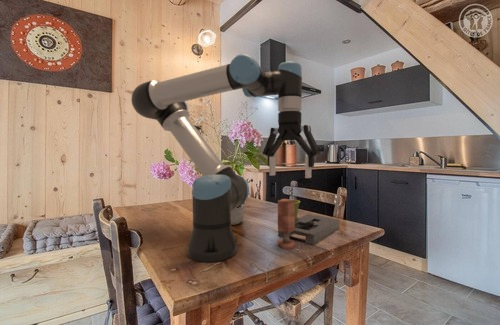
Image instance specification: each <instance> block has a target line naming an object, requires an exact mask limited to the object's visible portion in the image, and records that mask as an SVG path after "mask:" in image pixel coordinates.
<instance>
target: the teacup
mask: <svg viewBox="0 0 500 325" xmlns="http://www.w3.org/2000/svg"><path fill="white" fill-rule="evenodd" d="M244 218H245V204H244V203H243V204H242V205H241V207H239V208H234V209H233V210H231V226H235V225H239V224H240V223H241V222H242V221H243V220H244Z"/></svg>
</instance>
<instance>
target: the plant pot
mask: <svg viewBox="0 0 500 325" xmlns="http://www.w3.org/2000/svg"><path fill="white" fill-rule="evenodd" d="M289 199H290V198H289ZM290 200H295V220H296V219H298V212H299V206H300V203H301V201H300V199H299V200H298V199H290Z"/></svg>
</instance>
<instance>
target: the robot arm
mask: <svg viewBox="0 0 500 325" xmlns="http://www.w3.org/2000/svg"><path fill="white" fill-rule="evenodd" d="M302 80H303V76H302V65H301V63H299V62H297V61H293V60H292V61H291V60H288V61H285V62H284V61H283V62H281V63H280V64H279V65H278V68H277V70H275V71H274V70H273V71H267V72H266V71H264V70H263V68H262V67H261V66H260V65H259V63H258V61H257V60H256V59H255V58H253V57H252V56H251V55H249V54H246V53H239V54H237V55H236V56H235V57H234V58H233V59H232V60H231V62H230V63H228V64H227V63H226V64H223V65H220V66H215V67H213V68H209V69H205V70H204V69H203V70H200V71H197V72H194V73H193V72H192V73H189V74H185V75H181V76H178V77H174V78H170V79H166V80H162V81H160V80H159V79H153V80H152V79H151V80H149V81H146V82H143V83H141V84H139V85H137V87H135V88H134V90H133V91H132V94H131V104H132V107H133V109H134V110H135V112H136V113H137V114H138V115H140V116H142V117H143V118H146V119H150V120H155V121H156V122H158V124H159V125H160V127H162V128H163V130H164V131H165V132H166V131H167V132H170V133H171V135H172V136H173V137H174V138H175V140H176V141H177V142H178V144H179V145H180V147H181V149H183V151H184V152H185V154H186V155H187V156H188V158H189V159H190V161H191V162H192V163H193V165H194V166H195V167H196V169H197V170H198V172H200V174H201V175H202V176H198V178H195V179H194V180H193V182H192V191H191V195H192V230H191V233H190V237H189V241H188V245H187V248H186V249H187V256H188V258H190V259H191V260H194V261H197V262H202V263H204V262H205V263H214V262H221V261H225V260H228V259H230V258H232V257H234V256H235V255H236V254H237V252H238V251H237V250H238V245H237V241H236V239H235V235H234V231H233V229H232V228H233V227H232V225H231V210H233V209H234V208H237V207H239V206H241V205H242V204H244V203H245V202H246V201H247V200H248V197H249V195H250V186H249V183H248V181H247V180H246V179H245V177H243V176H241V175H239V174H237V173H236V172H235V171H234V169H233V168H232V167H231V166H230V165H225V164H224V163H223V162H222V161H221V159H220V158H219V156H218V155H217V154H216V152H215V151H214V150H213V149H212V147H211V146H210V145H209V144H208V142H207V140H206V139H205V138H204V136H203V135H202V134H201V133H200V131H199V130H198V129H197V128H196V126H195V125H194V124H193V122H192V121H191V119H190V112H189V111H188V104H187V103H186V102H187V101H192V100H197V99H199V98H205V97H210V96H214V95H219V94H222V93H227V92H232V91H236V90H240V89H241V90H242V93H243V94H244V96H245V97H247V98H257V97H258V98H259V97H266V96H277V95H278V98H277V101H278V102H277V104H278V105H277V111H278V114H277V118H278V119H277V123H278V127H270V129H269V130H270V131H269V132H270V133H269V136H268V139H267V140H266V144H265V146H264V148H263V150H262V154H263V155H264V156H267V166H268V168H269V169H268V170H269V171H268V174H269V176H272V177H273V176H276V168H277V167H276V165H277V164H276V160H277V159H276V156H275V154H276V153H277V151H279V149H280V148H281V145H283V143H284V142H286V141H296V142H297V144H298V145H299V146H300V147H301V149H302V150H303V151H304V153H305V154H306V155H307V156H305V158H304V159H305V160H304V161H305V162H304V164H305V166H304V168H305V170H304V175H305V176H304V178H305V179H311V178H312V168H314V167H315V157H316V156H318V155H319V156H320V154H321V151H320V147H318V144H317V142H316V140H315V138H314V135H313V133H312V128H311V125H309V124H304V125H303V126H302V112H301V111H302V94H303V92H302V89H303V87H302V85H303V84H302V82H303V81H302ZM301 133H303V134H304V136H305V138H306V140H304V138H303V136H302V135H301ZM306 141H307V142H306ZM307 143H308V144H307Z"/></svg>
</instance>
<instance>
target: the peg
mask: <svg viewBox="0 0 500 325" xmlns="http://www.w3.org/2000/svg"><path fill="white" fill-rule="evenodd" d="M295 200H296V199H293V200H290V198H289V199H288V198H281V199H279V200H277V232H278V231H281V232H283V237H282V238H281V239H278V240H277V246H278V247H279V248H281V249H286V250H287V249H293V248H295V246H296V242H295V240H293V239H290V236H289V233H290V232H292V231H294V230H295Z"/></svg>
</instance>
